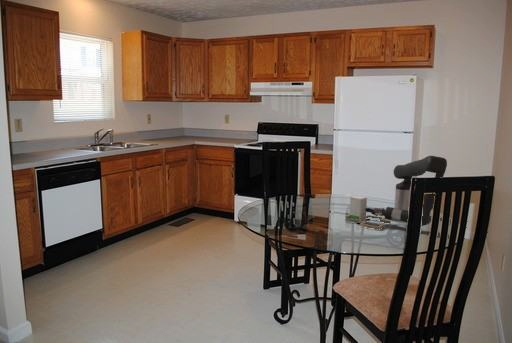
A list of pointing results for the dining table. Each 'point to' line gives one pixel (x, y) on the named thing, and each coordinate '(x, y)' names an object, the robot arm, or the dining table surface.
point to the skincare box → (358, 207)
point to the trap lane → (363, 223)
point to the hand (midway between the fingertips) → (366, 209)
